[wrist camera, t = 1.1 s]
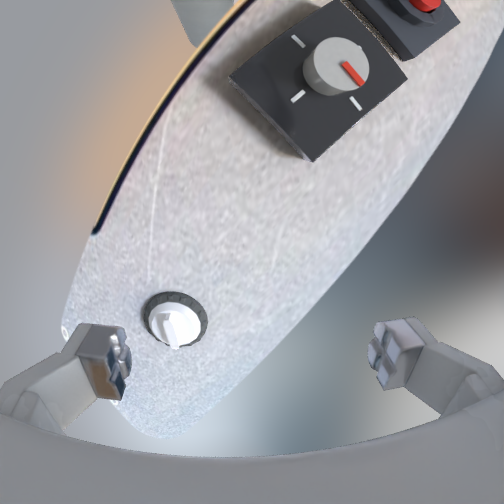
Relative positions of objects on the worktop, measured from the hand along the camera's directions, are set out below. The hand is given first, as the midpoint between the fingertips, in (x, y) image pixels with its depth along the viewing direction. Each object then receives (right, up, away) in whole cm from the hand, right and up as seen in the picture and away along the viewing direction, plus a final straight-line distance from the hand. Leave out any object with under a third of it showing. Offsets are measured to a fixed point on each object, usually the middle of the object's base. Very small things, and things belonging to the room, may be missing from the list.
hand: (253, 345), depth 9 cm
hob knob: (+6, +18, +12) cm, 22 cm away
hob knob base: (+6, +19, +14) cm, 25 cm away
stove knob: (-9, -5, +23) cm, 25 cm away
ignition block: (+16, +29, +11) cm, 35 cm away
